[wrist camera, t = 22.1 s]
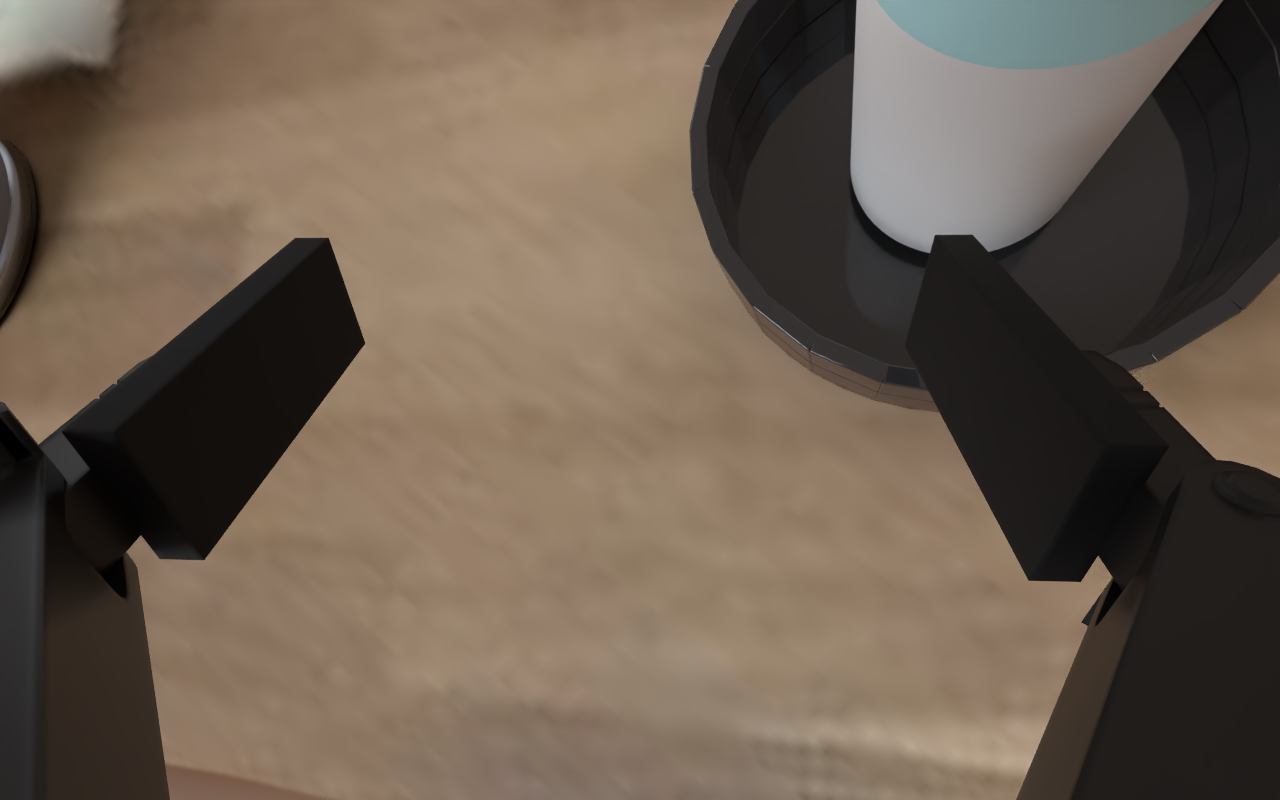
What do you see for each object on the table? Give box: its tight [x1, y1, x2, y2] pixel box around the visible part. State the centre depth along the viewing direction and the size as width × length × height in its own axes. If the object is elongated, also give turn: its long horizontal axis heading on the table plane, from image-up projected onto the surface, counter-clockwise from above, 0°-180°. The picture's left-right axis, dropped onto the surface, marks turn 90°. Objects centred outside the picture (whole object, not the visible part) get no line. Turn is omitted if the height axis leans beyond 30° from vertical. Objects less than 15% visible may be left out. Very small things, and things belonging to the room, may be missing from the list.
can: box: [850, 0, 1223, 253], centre depth 16 cm, size 7×7×12 cm
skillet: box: [690, 0, 1280, 412], centre depth 20 cm, size 17×17×4 cm
